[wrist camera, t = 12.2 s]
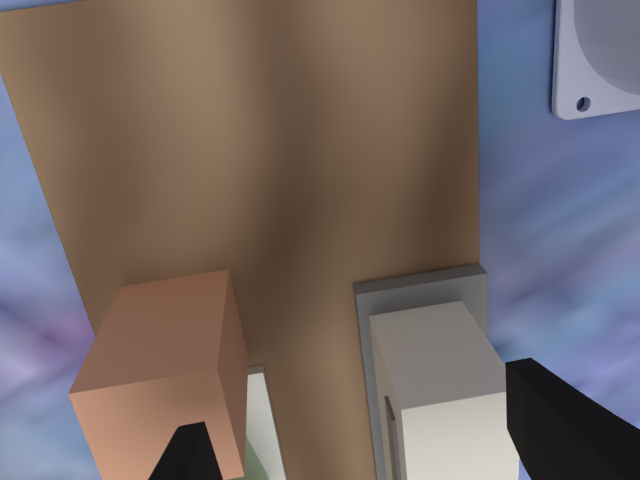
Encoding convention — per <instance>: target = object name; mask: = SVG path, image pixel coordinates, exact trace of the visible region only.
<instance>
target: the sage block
mask: <svg viewBox="0 0 640 480" xmlns="http://www.w3.org/2000/svg"><path fill="white" fill-rule="evenodd" d="M226 480H269V477H268V475H267V473H266V472H265V470H264V468H263V466H262V464H261V462H260V460H259V458H258V457H257V455H256V453H255V451H254V449H253V447H252V445H251V443H250V442H249V440H248V438H247V436H246V446H245V476H243V477H238V478H232V479H226Z"/></svg>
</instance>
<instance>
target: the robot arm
mask: <svg viewBox="0 0 640 480" xmlns="http://www.w3.org/2000/svg"><path fill="white" fill-rule="evenodd" d="M583 97H584V100H585V103H584V106H583V107H582V108H581V109H578V110H577V107H576V105H577V102H578V101H579V99H580V98H583ZM638 109H640V0H557V2H556V23H555V45H554V66H553V88H552V112H553V114H554V115H555V116H556V117H558V118H560V119H562V120H574V119H580V118H586V117H593V116H599V115H606V114H612V113H619V112H625V111H632V110H638ZM506 414H507V430H508V432H509V434H510V437H511V439H512V441H513V444H514V446H515V448H516V450H517V453H518V455H519V457H520V459H521V461H522V463H523V465H524V468H525V469H526V471H527V473H528V475H529V476H530V478H531V480H640V429H638V428H636V427H635V426H633V425H631V424H629V423H628V422H626V421H624V420H623V419H621V418H620V417H618V416H616V415H615V414H613V413H612V412H610V411H608V410H607V409H605V408H604V407H602V406H601V405H599V404H598V403H596V402H594V401H593V400H591V399H590V398H588V397H587V396H585V395H584V394H582V393H581V392H579V391H578V390H577V389H575V388H574V387H572V386H571V385H569V384H568V383H566V382H565V381H563V380H562V379H561V378H559V377H558V376H556V375H555V374H553V373H552V372H551V371H549V370H548V369H546V368H545V367H543V366H542V365H541V364H539V363H538V362H536V361H535V360H533V359H532V358H527V359H521V360H516V361H511V362H506ZM148 480H223V477H222V474H221V471H220V468H219V465H218V462H217V459H216V455H215V452H214V449H213V446H212V443H211V440H210V437H209V434H208V431H207V427H206V424H205V421H203V422H198V423H192V424H187V425H182V426H179V427H178V428H177V429H176V430H175V432H174V434H173V436H172V438H171V439H170V441H169V443H168V445H167V447H166V449H165V450H164V452H163V454H162V456H161V458H160V459H159V461H158V463H157V465H156V466H155V468H154V470H153V472H152V473H151V475H150V477H149V479H148Z"/></svg>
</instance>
